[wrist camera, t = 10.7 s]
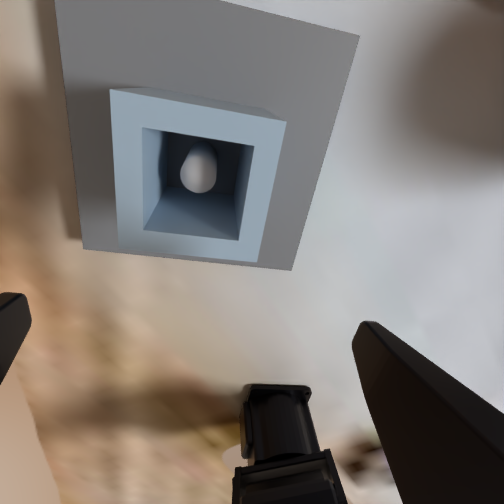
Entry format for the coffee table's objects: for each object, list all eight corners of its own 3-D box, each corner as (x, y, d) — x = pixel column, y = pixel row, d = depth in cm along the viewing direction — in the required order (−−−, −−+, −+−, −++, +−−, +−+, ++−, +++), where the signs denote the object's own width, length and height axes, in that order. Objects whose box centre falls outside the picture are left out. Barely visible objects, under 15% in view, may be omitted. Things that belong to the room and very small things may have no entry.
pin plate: (348, 39, 16) (403, 20, 11) (287, 259, 22) (304, 307, 18) (65, -31, 13) (-20, -94, 9) (92, 238, 20) (52, 286, 15)
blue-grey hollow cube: (265, 109, 16) (286, 121, 10) (247, 212, 18) (256, 262, 13) (149, 87, 15) (109, 89, 9) (149, 199, 18) (118, 248, 12)
